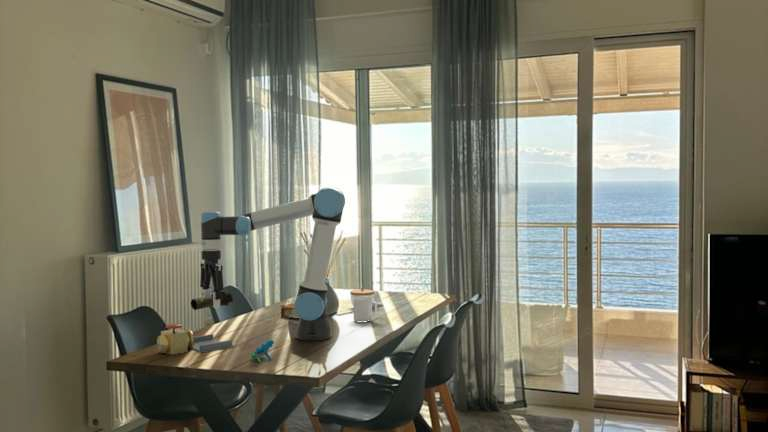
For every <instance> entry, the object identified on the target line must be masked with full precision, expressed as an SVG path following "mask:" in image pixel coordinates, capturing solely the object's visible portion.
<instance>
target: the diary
mask: <svg viewBox="0 0 768 432" xmlns="http://www.w3.org/2000/svg"><path fill="white" fill-rule="evenodd" d="M294 304H295V303H292V304H287V305H284V306H282V307H281V308H280V317H281V318H284V317H289V316H290V315H291V314H292V310H293V307H294Z"/></svg>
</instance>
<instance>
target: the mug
mask: <svg viewBox="0 0 768 432" xmlns="http://www.w3.org/2000/svg"><path fill="white" fill-rule="evenodd" d="M373 304H374V313H373ZM352 306H353V309H352V310H353V320H354V321H355V322H356V321H368V320H371V319H372V320H373V317H375V316H376V315H377V313H378V312H377V311H378V302H376V301H375V300H373V302H372V297H366V296H360V297H354V298H353V304H352ZM372 320H371V321H372Z"/></svg>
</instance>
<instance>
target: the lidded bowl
mask: <svg viewBox="0 0 768 432" xmlns="http://www.w3.org/2000/svg"><path fill="white" fill-rule="evenodd" d="M360 296H366V297H372V302H373V301H375V299H374V298H375V290H373V289H367V288H366V289H364V287H361V288H360V289H359V288H358V289H352V290H350V301H351V304H352V305H353V298H354V297H360Z"/></svg>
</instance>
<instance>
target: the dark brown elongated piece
mask: <svg viewBox="0 0 768 432" xmlns="http://www.w3.org/2000/svg"><path fill="white" fill-rule="evenodd" d="M233 302H234V299H233V294H231V293H229V292H226V291H224V290H221V291H220V307H221V306H226V307H227V306H229V304H230V303H233ZM190 307H191V309H192V310H194V311H197V310H201V309H206V308H210V307H213V293H211V297H204V296H203V297H200V298H199V297H198V298H192V299H191V301H190Z"/></svg>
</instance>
